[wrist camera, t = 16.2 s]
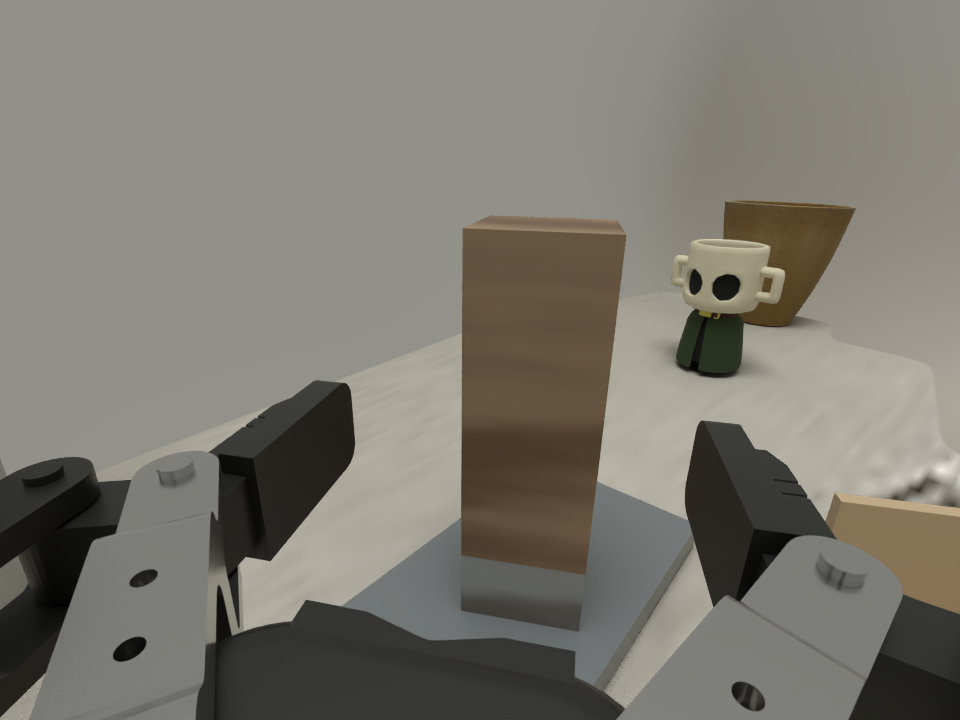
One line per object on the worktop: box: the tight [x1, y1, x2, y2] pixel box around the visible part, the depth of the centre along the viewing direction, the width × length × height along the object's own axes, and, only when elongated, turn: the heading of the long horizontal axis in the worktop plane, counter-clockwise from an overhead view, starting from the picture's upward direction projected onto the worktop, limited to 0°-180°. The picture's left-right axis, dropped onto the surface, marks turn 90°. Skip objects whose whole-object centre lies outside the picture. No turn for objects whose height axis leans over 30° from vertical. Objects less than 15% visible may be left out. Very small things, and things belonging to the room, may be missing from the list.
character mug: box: [671, 239, 785, 373], centre depth 51 cm, size 11×7×13 cm, turn 42°
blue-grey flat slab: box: [341, 482, 694, 692], centre depth 24 cm, size 18×10×2 cm, turn 140°
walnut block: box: [461, 216, 626, 632], centre depth 20 cm, size 5×5×16 cm
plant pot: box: [724, 200, 856, 326], centre depth 68 cm, size 15×15×16 cm
